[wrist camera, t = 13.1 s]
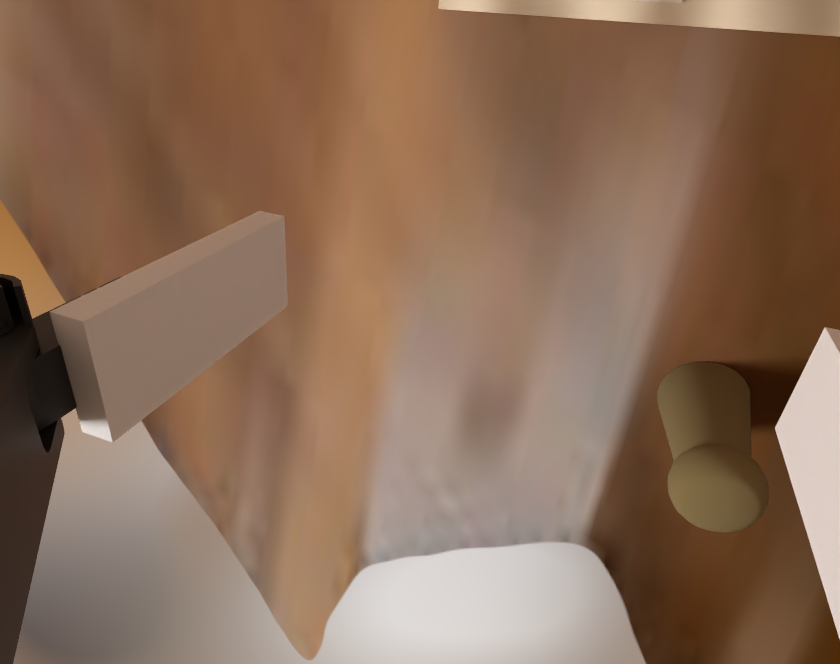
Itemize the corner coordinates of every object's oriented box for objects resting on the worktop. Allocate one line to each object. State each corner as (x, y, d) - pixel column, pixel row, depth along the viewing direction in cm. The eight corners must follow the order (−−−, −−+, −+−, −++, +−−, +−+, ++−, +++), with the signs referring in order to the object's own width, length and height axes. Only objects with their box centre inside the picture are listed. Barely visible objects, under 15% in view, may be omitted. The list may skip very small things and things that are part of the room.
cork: (667, 437, 43) (674, 551, 34) (647, 370, 41) (648, 472, 32) (758, 426, 41) (792, 547, 31) (741, 353, 38) (772, 460, 29)
